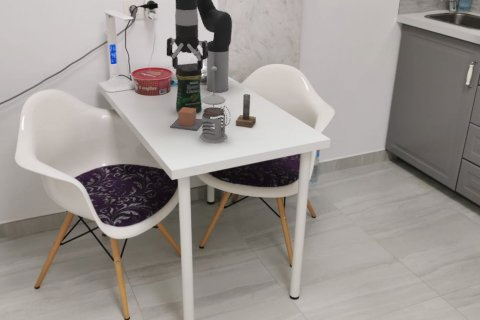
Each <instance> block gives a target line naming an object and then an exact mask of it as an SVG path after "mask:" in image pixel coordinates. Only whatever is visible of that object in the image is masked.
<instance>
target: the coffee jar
mask: <svg viewBox="0 0 480 320" xmlns="http://www.w3.org/2000/svg"><path fill="white" fill-rule="evenodd" d="M202 76H203V75H202V70H201V71H197V62H195V63H194V62H193V63H184V64H178V68H177V69H175V77H176V80H177V88H176V89H177V91H176V100H175V102H176V103H175V109H176V112H179V111H180V110H181V109H182V108H183V107H186V108H194V109H196V114H197V113H200V112H202V111H203V110H202V95H201V86H200V85H201V78H202Z"/></svg>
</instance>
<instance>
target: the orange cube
mask: <svg viewBox="0 0 480 320" xmlns="http://www.w3.org/2000/svg"><path fill="white" fill-rule="evenodd" d="M177 112H178V111H177ZM177 114H178V115H177V116H178V117H177V119H178V123H179V125H184V126H193V125H194V123H195V122H196V118H197V113H196V109H194V108H186V107H183V108H182V109H181V110H180V111H179V112H178V113H177Z"/></svg>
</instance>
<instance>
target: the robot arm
mask: <svg viewBox="0 0 480 320" xmlns="http://www.w3.org/2000/svg"><path fill="white" fill-rule="evenodd" d="M198 13H199V15H198ZM174 16H175V17H174V19H175V25H174V26H175V38H173V37H168V38H167V39H166V56H167V57H170V58H171V60H172V61H171V65H172V67H173V69H174V70H176V69H177V68H178V65H179V58H178V55H179V54H180V53H183V54H184V53H187V54H193V56H194V57H195V58H196V60H197V61H196V63H197V71H201V72H202V70H203V68H204V66H203V65H204V60H206V89H207V90H208V91H209V92H212V93H213V85H214V93H222V92H227V91H228V90H229V66H230V65H229V62H230V61H229V59H230V58H229V57H230V56H229V55H230V54H229V53H230V45H231V43H232V30H233V21H232V20H233V19H232V16H231V15H230V13H228V12H226V11H223V10H219V9H217V7H216V6H215V4H214V2H213V0H175V12H174ZM199 17H200V18H201V19H200V20H201V22H202V25H203V27H204V29H205V30H207V31H208V32H210V33H212V34H213V37H212V38H213V39H212V40H210V41H207V40H206V39H205V40H199ZM174 44H175V46H176V47H177V48H176V49H175V50H174V52H173V45H174ZM199 46H200V48H201V50H202V51H200V49H199V48H198V47H199ZM212 67H216V68H217V70H216V71H212V70H211V68H212ZM207 90H206V91H207Z"/></svg>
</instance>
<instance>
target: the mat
mask: <svg viewBox="0 0 480 320" xmlns="http://www.w3.org/2000/svg"><path fill="white" fill-rule="evenodd" d="M202 126H203V125H202V118H197V117H196V122H195V123H194V125H193V126H184V125H179V123H178V118H177V119H175V120H174V121H173V123H171V124H170V126H169V128H170V129H177V130H185V131H196V132H197V131H198V130H199V129H200V128H202Z"/></svg>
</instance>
